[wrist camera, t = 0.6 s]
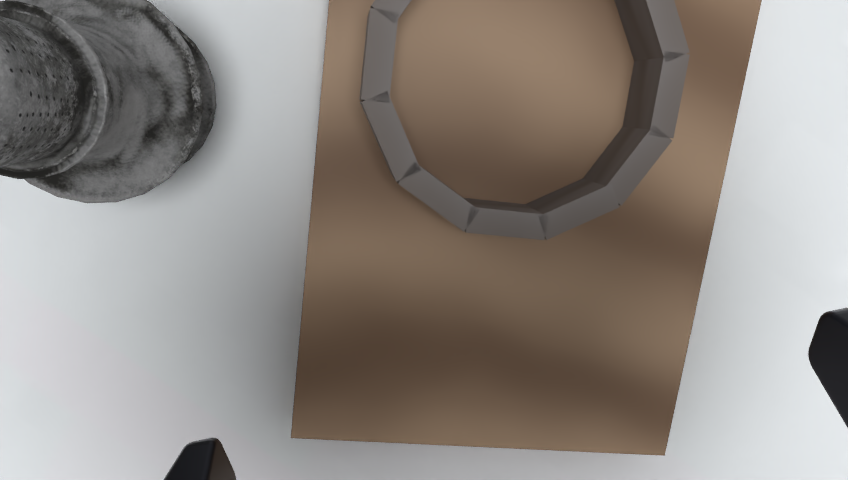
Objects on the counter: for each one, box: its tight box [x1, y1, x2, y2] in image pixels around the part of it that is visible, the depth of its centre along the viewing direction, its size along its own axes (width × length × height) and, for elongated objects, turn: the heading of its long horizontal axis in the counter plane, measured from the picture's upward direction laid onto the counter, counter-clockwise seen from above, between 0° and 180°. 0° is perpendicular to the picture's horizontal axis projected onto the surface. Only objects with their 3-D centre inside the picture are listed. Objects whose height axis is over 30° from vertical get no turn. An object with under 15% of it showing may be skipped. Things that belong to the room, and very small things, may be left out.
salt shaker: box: [0, 0, 216, 203], centre depth 15 cm, size 6×6×12 cm
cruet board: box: [291, 0, 762, 455], centre depth 21 cm, size 18×14×3 cm
